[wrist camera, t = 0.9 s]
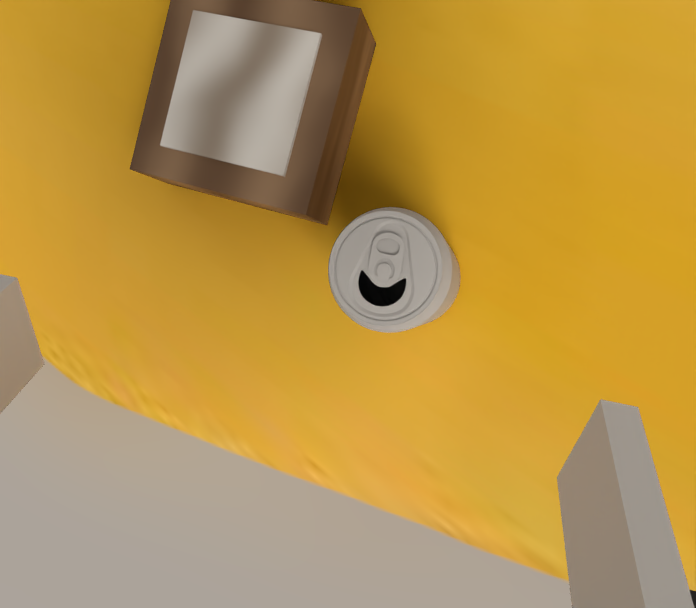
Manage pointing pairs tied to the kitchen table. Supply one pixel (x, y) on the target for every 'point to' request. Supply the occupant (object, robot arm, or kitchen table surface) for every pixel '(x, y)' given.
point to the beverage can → (393, 270)
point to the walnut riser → (256, 101)
